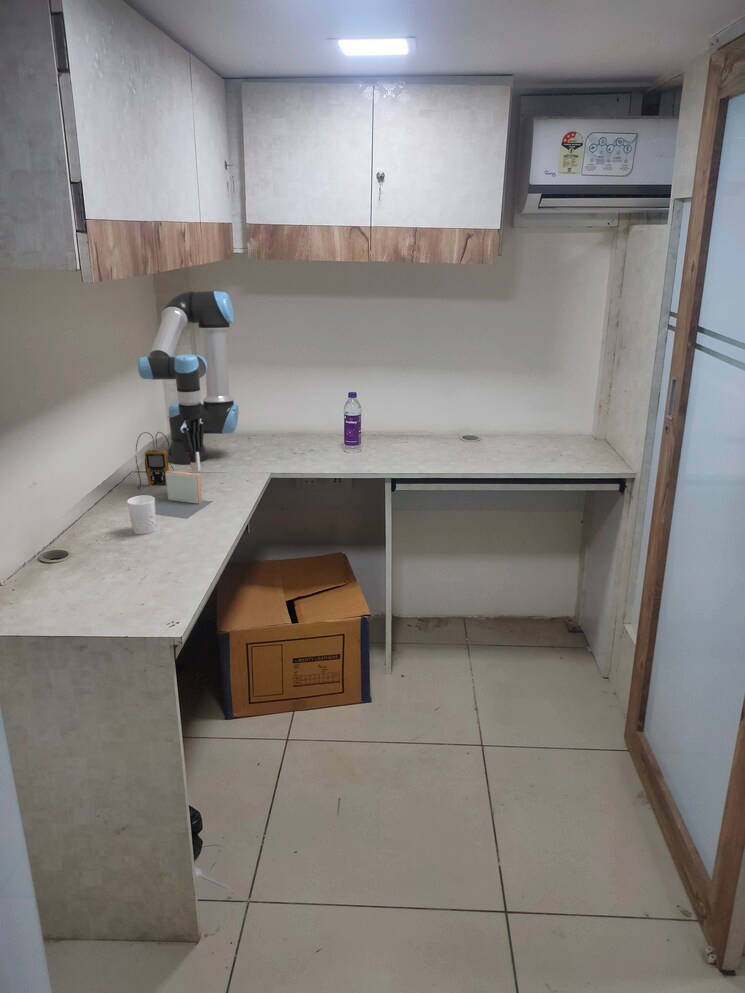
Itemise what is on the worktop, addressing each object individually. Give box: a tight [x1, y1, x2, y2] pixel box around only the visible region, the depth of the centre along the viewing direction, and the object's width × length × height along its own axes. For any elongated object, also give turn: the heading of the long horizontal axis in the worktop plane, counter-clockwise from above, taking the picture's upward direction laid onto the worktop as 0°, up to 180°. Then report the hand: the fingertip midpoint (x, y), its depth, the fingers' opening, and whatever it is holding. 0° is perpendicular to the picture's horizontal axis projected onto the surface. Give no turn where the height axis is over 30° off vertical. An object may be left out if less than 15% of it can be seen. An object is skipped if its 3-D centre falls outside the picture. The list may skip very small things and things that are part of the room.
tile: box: [165, 469, 203, 504], centre depth 239 cm, size 2×12×10 cm, turn 72°
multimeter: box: [135, 431, 175, 491], centre depth 250 cm, size 15×10×20 cm
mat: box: [155, 495, 213, 520], centre depth 236 cm, size 16×18×1 cm
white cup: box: [127, 495, 157, 535], centre depth 217 cm, size 8×8×10 cm
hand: (196, 470), depth 245 cm, fingers closed
